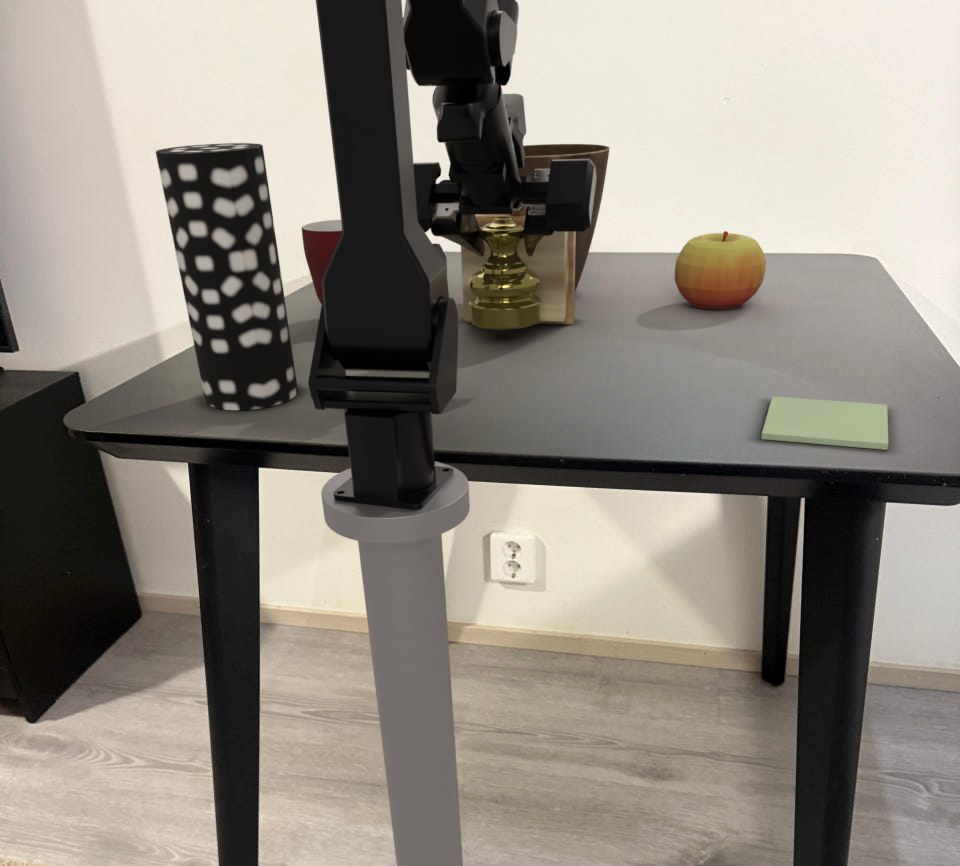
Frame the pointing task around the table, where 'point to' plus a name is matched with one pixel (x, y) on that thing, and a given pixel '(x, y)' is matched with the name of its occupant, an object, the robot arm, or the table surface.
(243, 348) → the spotted tube
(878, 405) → the mat
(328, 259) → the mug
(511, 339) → the table surface
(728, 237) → the apple
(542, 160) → the flower pot
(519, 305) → the brass chess piece
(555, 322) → the wooden napkin holder
